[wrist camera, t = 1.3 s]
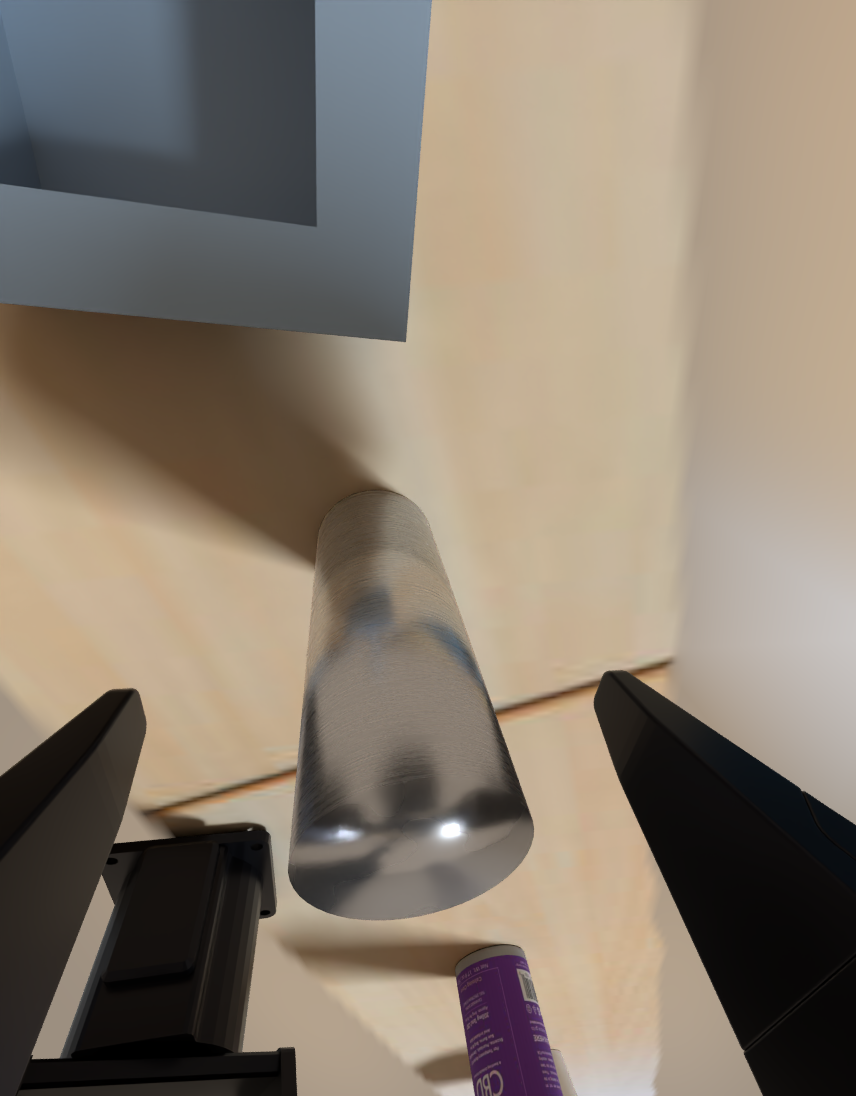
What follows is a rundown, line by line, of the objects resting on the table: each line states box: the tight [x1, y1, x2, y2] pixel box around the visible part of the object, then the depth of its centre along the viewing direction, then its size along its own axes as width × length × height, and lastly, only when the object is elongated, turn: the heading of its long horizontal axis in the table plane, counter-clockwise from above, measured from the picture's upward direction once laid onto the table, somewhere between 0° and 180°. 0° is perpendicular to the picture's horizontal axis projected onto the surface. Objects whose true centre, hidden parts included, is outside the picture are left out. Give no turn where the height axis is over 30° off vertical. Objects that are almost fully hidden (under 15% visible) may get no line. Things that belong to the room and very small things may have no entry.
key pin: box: [288, 490, 534, 920], centre depth 10 cm, size 3×3×9 cm
